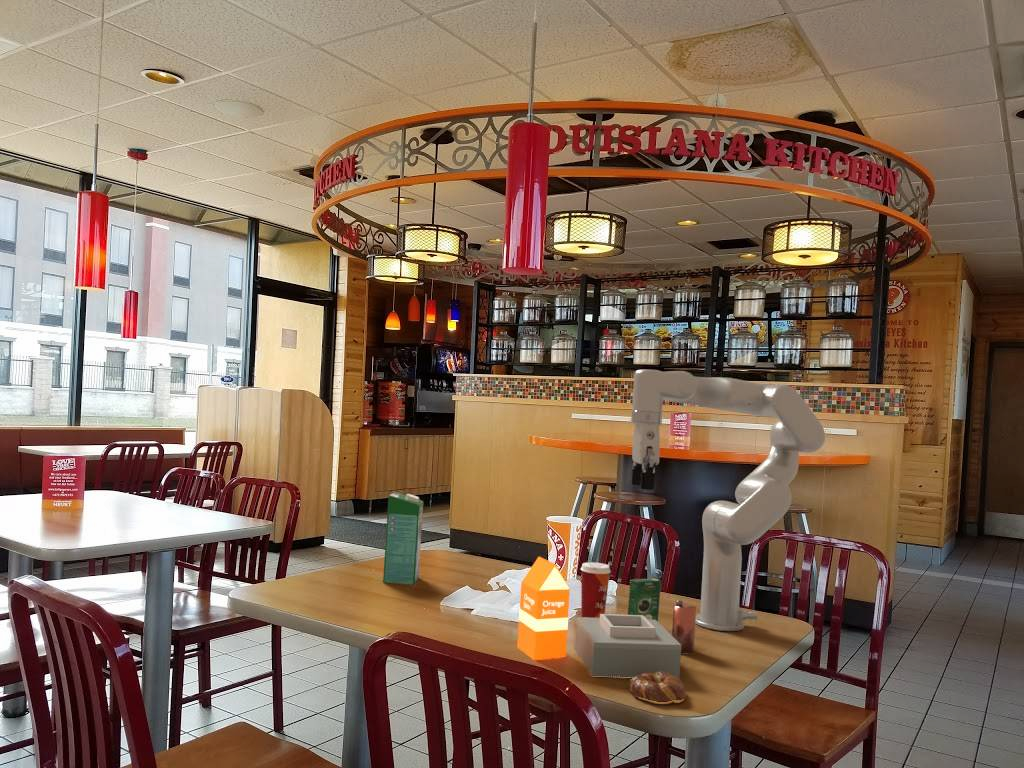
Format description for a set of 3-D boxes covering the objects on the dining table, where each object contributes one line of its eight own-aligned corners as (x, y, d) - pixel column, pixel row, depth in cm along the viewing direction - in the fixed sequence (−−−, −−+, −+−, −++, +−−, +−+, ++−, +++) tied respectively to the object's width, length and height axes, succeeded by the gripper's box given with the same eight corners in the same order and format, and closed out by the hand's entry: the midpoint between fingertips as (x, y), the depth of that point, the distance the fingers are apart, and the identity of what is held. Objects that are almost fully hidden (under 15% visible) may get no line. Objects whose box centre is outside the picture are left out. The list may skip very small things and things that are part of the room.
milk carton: (414, 584, 225) (420, 496, 226) (382, 582, 225) (388, 494, 226) (418, 577, 234) (424, 493, 235) (388, 575, 234) (393, 491, 235)
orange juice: (533, 660, 166) (539, 564, 166) (516, 647, 174) (522, 556, 175) (566, 657, 169) (572, 564, 170) (548, 644, 177) (553, 555, 178)
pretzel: (632, 681, 158) (633, 662, 158) (688, 690, 155) (689, 671, 155) (623, 701, 147) (624, 681, 147) (683, 711, 144) (684, 690, 144)
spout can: (689, 647, 182) (692, 598, 182) (696, 654, 177) (699, 604, 177) (668, 646, 181) (671, 597, 182) (675, 653, 176) (678, 603, 177)
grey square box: (653, 650, 178) (655, 610, 178) (679, 679, 160) (682, 635, 160) (574, 648, 176) (577, 608, 176) (591, 677, 158) (594, 632, 158)
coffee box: (650, 630, 194) (653, 576, 194) (658, 633, 192) (661, 579, 192) (625, 633, 190) (628, 579, 190) (633, 637, 187) (636, 581, 187)
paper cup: (606, 626, 195) (610, 569, 195) (575, 622, 196) (579, 566, 197) (609, 618, 202) (612, 563, 203) (579, 614, 204) (582, 560, 204)
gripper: (670, 420, 190) (666, 492, 190) (652, 418, 207) (648, 484, 207) (639, 418, 189) (635, 490, 189) (624, 416, 207) (620, 482, 206)
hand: (642, 487), depth 198 cm, fingers open, 9 cm apart
